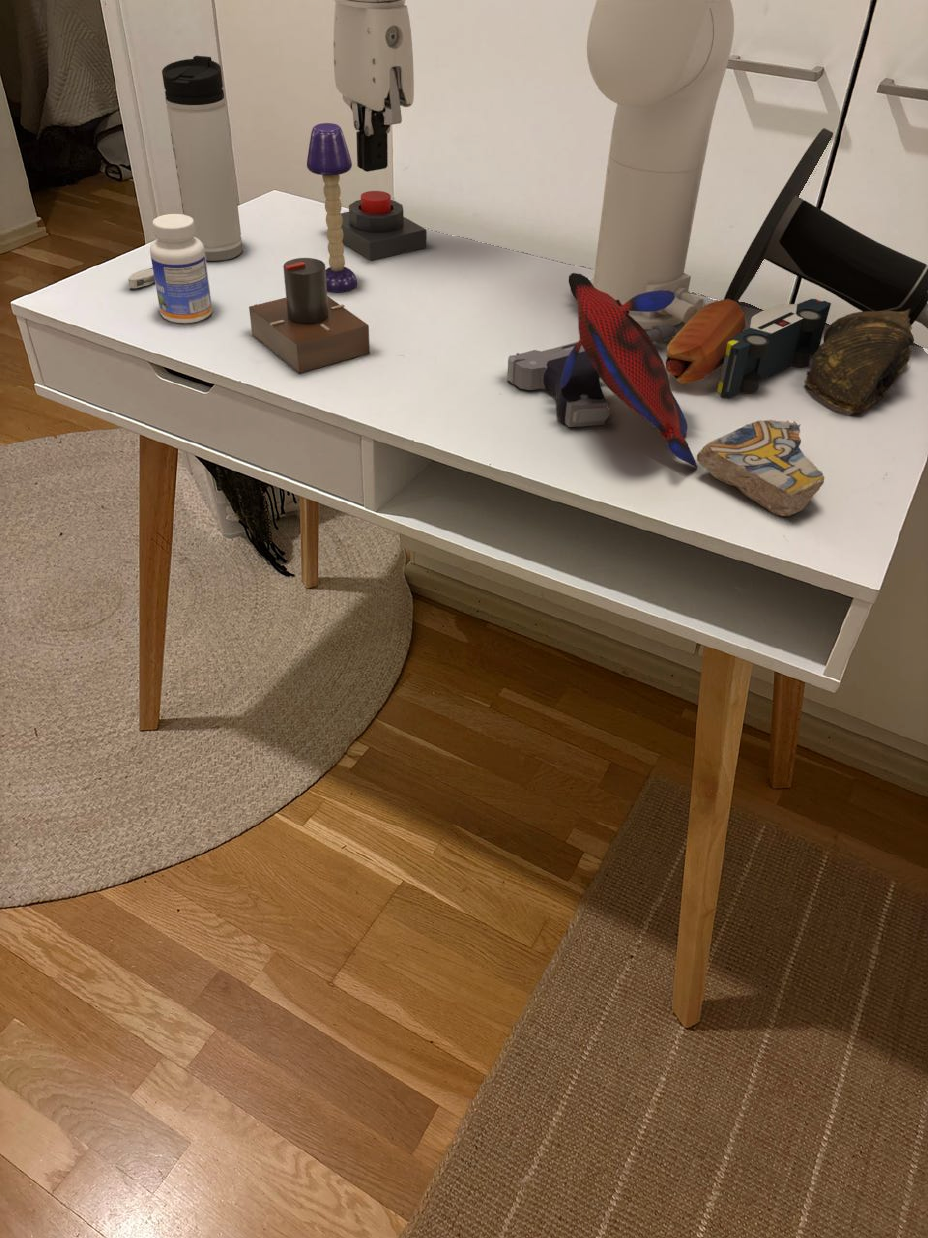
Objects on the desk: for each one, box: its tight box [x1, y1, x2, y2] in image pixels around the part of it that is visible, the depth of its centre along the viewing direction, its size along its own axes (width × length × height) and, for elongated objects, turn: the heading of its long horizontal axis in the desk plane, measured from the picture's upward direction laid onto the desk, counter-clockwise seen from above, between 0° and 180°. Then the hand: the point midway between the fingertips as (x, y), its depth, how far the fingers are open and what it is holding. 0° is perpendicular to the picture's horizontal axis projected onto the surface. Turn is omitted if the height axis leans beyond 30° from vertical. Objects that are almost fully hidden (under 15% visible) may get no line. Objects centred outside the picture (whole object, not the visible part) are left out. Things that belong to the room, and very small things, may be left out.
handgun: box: [506, 324, 677, 428], centre depth 96 cm, size 3×20×12 cm
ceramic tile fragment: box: [696, 419, 825, 517], centre depth 83 cm, size 12×3×10 cm
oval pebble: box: [127, 267, 155, 289], centre depth 111 cm, size 6×2×1 cm, turn 152°
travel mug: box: [161, 55, 244, 262], centre depth 112 cm, size 6×7×20 cm
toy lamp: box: [306, 122, 358, 293], centre depth 106 cm, size 5×5×17 cm
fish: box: [560, 272, 698, 469], centre depth 87 cm, size 20×12×15 cm
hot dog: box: [665, 298, 746, 384], centre depth 98 cm, size 5×13×5 cm
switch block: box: [340, 199, 428, 261], centre depth 121 cm, size 10×8×4 cm
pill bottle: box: [149, 213, 213, 324], centre depth 102 cm, size 5×5×10 cm
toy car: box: [716, 298, 832, 399], centre depth 98 cm, size 5×16×5 cm
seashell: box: [803, 309, 915, 413], centre depth 97 cm, size 16×9×7 cm, turn 148°
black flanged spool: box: [723, 127, 928, 330], centre depth 103 cm, size 19×19×25 cm
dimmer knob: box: [282, 257, 328, 324], centre depth 97 cm, size 4×4×5 cm
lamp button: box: [360, 190, 392, 214], centre depth 119 cm, size 4×4×2 cm
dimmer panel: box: [248, 295, 371, 374], centre depth 100 cm, size 10×8×3 cm
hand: (372, 167), depth 117 cm, fingers closed
